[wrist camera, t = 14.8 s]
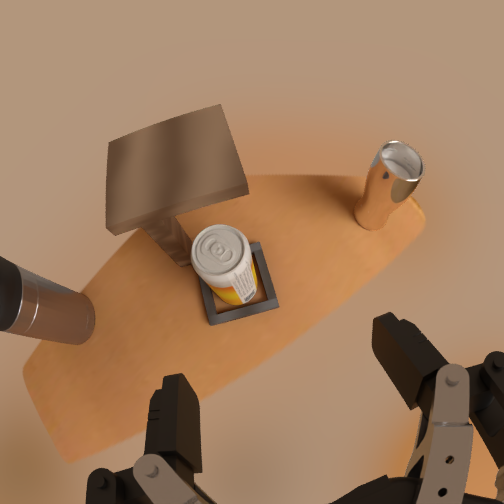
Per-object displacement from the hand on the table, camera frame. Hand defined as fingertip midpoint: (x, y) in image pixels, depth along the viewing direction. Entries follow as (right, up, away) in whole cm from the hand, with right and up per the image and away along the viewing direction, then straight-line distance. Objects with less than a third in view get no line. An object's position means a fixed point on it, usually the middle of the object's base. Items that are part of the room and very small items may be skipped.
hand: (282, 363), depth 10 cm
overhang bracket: (-6, +2, +31) cm, 32 cm away
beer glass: (+19, +11, +33) cm, 39 cm away
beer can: (-3, -1, +31) cm, 31 cm away
